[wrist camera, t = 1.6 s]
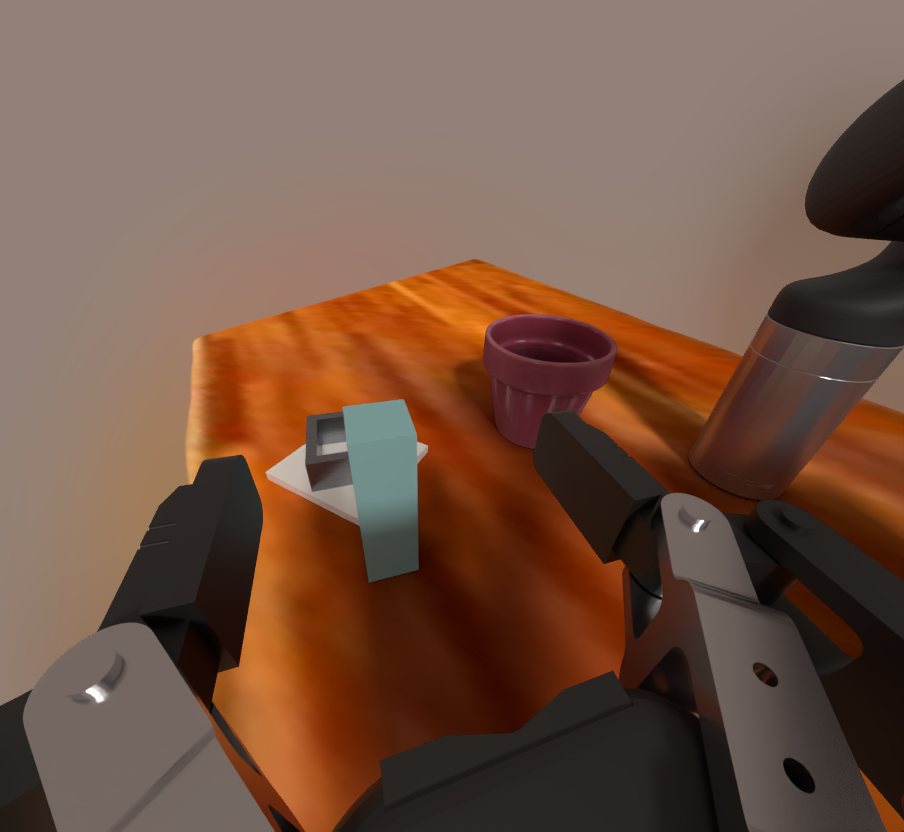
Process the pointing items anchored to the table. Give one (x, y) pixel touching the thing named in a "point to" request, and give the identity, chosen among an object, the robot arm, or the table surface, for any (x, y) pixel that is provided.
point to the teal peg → (384, 485)
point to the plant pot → (543, 370)
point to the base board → (335, 499)
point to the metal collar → (330, 466)
